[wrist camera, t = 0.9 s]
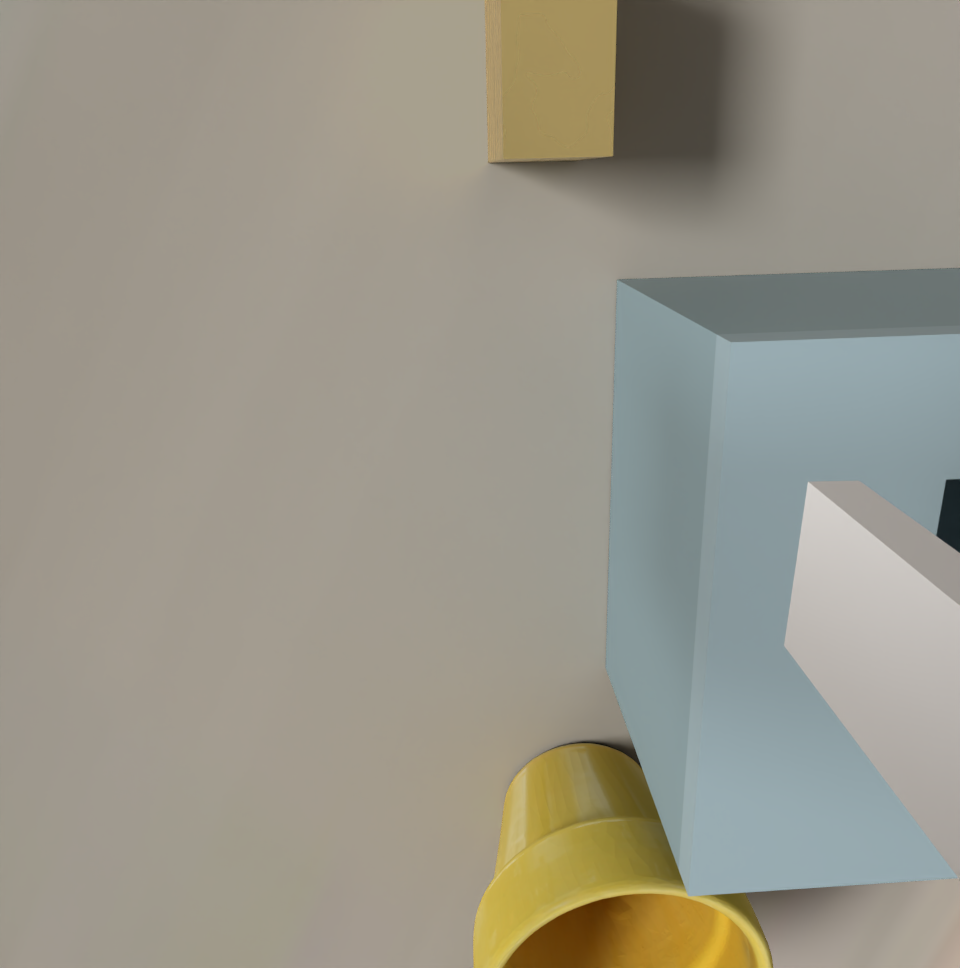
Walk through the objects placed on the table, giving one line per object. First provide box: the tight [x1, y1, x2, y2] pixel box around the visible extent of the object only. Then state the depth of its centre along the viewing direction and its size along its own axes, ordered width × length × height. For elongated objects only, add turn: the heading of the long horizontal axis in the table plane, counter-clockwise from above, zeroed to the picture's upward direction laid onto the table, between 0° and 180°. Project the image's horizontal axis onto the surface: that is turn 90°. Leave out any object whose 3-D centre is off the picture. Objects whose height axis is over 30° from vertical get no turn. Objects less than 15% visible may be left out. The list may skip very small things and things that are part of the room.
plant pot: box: [473, 743, 773, 968], centre depth 33 cm, size 10×10×10 cm
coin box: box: [606, 268, 960, 896], centre depth 27 cm, size 16×16×12 cm
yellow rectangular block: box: [485, 0, 617, 163], centre depth 25 cm, size 6×3×6 cm, turn 1°
